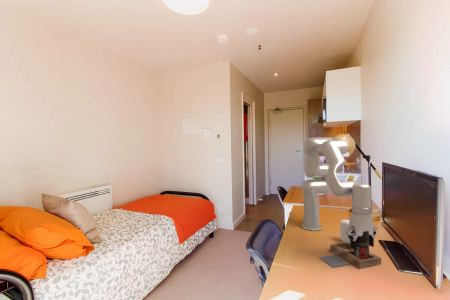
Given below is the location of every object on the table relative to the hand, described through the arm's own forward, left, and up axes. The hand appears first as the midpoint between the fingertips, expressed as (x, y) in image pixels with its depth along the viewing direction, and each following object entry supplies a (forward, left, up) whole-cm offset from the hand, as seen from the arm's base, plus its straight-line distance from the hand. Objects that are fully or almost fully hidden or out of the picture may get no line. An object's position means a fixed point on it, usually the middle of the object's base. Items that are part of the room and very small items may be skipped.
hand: (361, 247), depth 103 cm
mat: (-4, -12, -7) cm, 14 cm away
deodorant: (0, 0, -7) cm, 7 cm away
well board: (-5, 0, -7) cm, 8 cm away
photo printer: (-17, +10, -7) cm, 21 cm away
